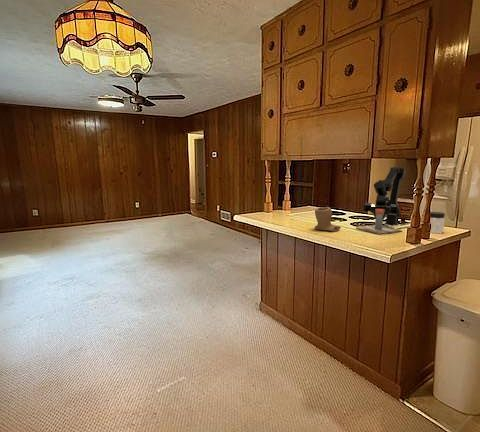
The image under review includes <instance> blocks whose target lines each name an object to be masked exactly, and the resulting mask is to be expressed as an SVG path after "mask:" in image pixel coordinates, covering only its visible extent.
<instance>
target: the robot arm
mask: <svg viewBox="0 0 480 432" xmlns="http://www.w3.org/2000/svg"><path fill="white" fill-rule="evenodd" d="M406 173H407V170H406V169H405V168H404V167H398V166H392V167H390V168H389V172H388V173H387V175H386V177H385V178H384V179H382V180H380V179H379V180H378V181H376V182H375V183H374V184H373V188H374V191H375V193H376V199H375V204H373V203H371V202H365V203H364V204H363V210H364V211H365V212H370V213H371V214H372V215H373V217H374V220H376V209H377V208H381V209H384V213H383V220H385V218H386V222H384V225H385V224H386V225H388V226H389V225H390V226H398V225H399V223H398V217H401V210H400V205H399V203H398V198H399V195H400V189H401V188H400V187H401V182H402V181H404V180H403V179H405V176H406ZM388 192H390V195H388Z"/></svg>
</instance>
